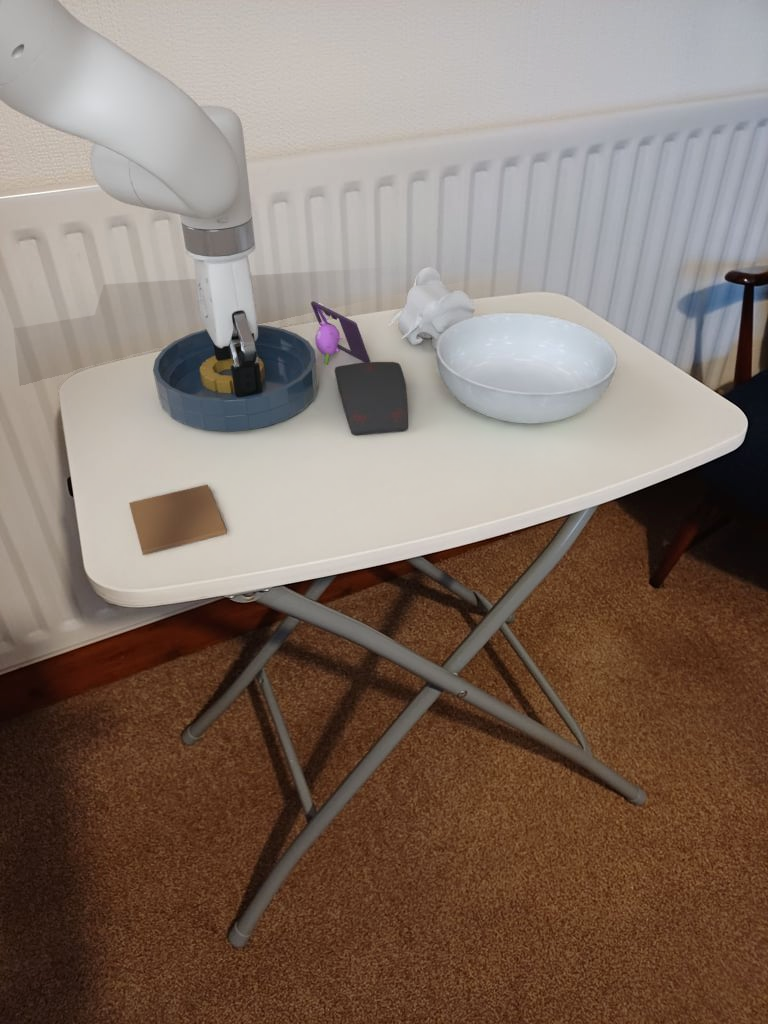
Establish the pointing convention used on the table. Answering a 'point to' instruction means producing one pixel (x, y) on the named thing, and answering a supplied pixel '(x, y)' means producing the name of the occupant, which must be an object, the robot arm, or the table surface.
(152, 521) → the coaster
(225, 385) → the ring
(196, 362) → the bowl
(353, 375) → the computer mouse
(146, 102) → the robot arm
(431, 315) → the elephant figurine
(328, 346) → the purple piece
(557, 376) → the serving bowl
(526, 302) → the table surface
